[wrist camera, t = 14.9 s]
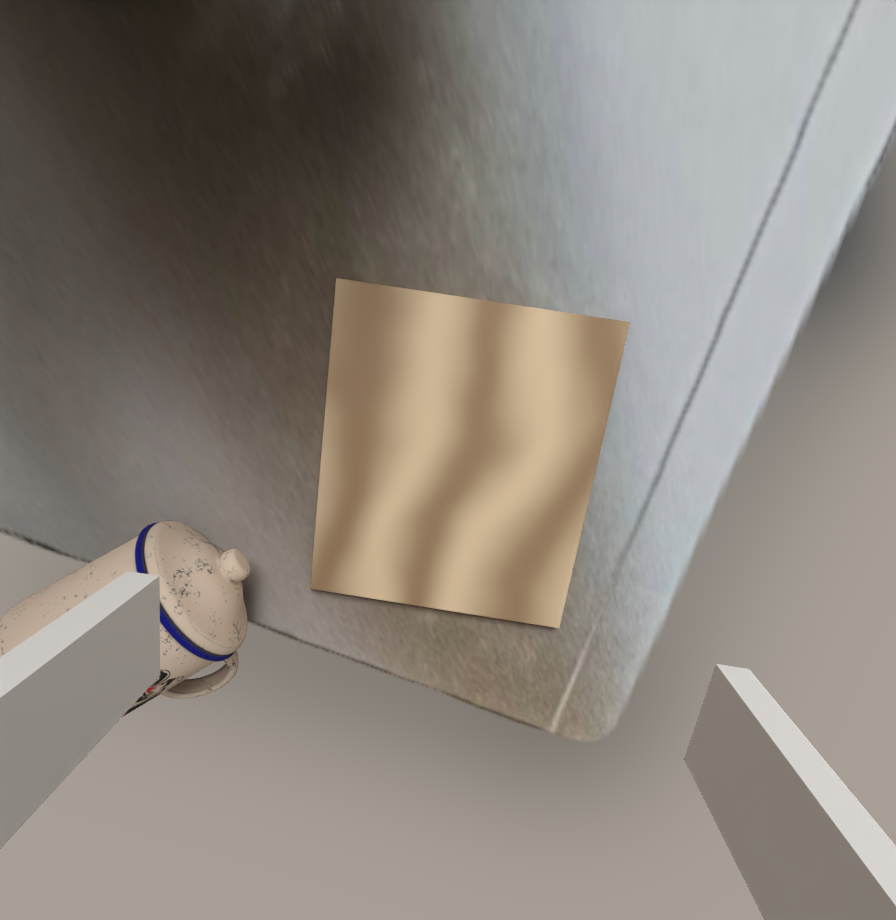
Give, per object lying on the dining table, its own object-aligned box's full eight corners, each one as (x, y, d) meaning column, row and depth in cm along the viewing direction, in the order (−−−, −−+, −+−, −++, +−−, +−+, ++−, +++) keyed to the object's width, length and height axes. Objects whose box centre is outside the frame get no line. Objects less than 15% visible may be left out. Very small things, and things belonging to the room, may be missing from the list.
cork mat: (313, 584, 33) (310, 588, 33) (339, 279, 28) (336, 278, 28) (557, 623, 33) (559, 628, 32) (626, 322, 28) (629, 322, 28)
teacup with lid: (-55, 692, 22) (184, 556, 23) (22, 568, 29) (199, 471, 30) (138, 795, 28) (316, 684, 29) (160, 671, 36) (301, 587, 37)
